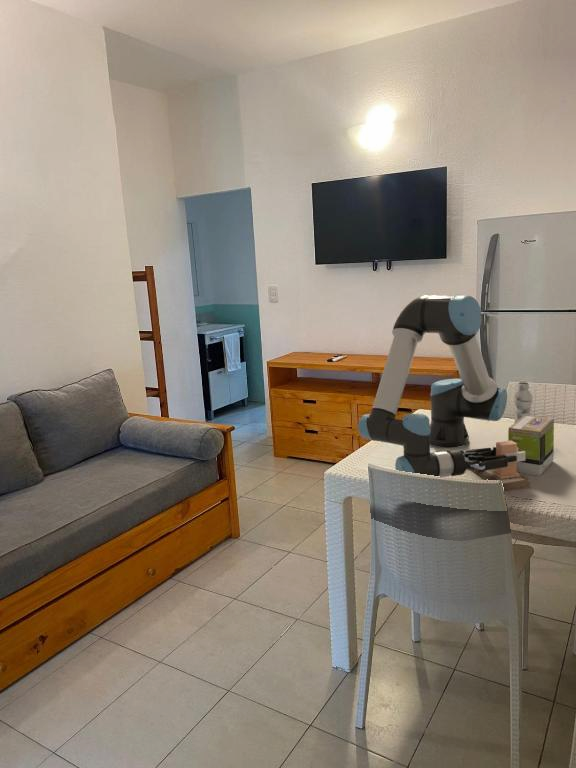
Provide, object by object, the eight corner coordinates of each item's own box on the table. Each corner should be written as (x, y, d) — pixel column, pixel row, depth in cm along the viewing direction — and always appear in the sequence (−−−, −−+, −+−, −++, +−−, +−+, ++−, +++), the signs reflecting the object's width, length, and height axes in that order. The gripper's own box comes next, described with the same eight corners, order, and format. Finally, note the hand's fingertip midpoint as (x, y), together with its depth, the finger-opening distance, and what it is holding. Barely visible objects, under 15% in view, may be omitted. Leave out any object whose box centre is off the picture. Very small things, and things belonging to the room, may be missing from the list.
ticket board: (462, 463, 192) (462, 456, 191) (487, 460, 193) (487, 453, 193) (501, 491, 169) (501, 483, 168) (529, 487, 170) (529, 479, 170)
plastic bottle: (535, 435, 214) (537, 383, 210) (524, 439, 210) (526, 386, 206) (520, 431, 219) (521, 380, 215) (509, 435, 216) (510, 383, 211)
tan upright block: (492, 472, 176) (492, 441, 174) (510, 470, 177) (510, 439, 175) (501, 478, 171) (501, 446, 169) (519, 476, 172) (520, 444, 170)
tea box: (522, 456, 195) (523, 414, 191) (554, 461, 188) (555, 418, 185) (507, 470, 183) (507, 426, 180) (540, 476, 177) (541, 431, 174)
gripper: (436, 466, 178) (506, 456, 182) (461, 485, 163) (536, 475, 167) (436, 443, 176) (506, 434, 180) (461, 460, 161) (537, 450, 165)
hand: (520, 453), depth 173 cm, fingers closed on tan upright block, 3 cm apart
